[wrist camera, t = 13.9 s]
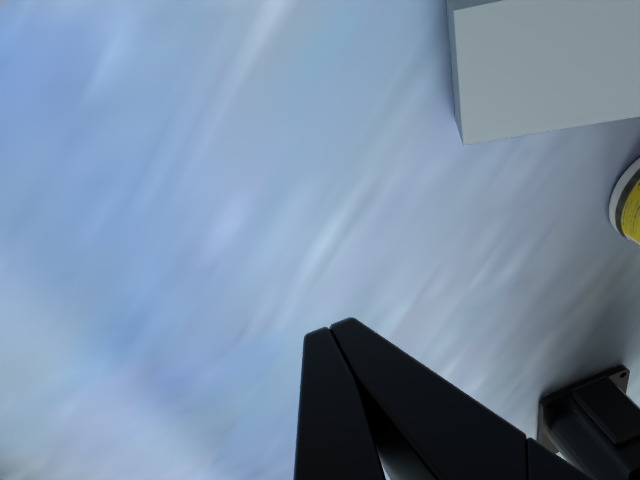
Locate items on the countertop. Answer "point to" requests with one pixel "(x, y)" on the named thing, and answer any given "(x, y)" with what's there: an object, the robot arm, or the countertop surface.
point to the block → (542, 65)
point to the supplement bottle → (627, 204)
